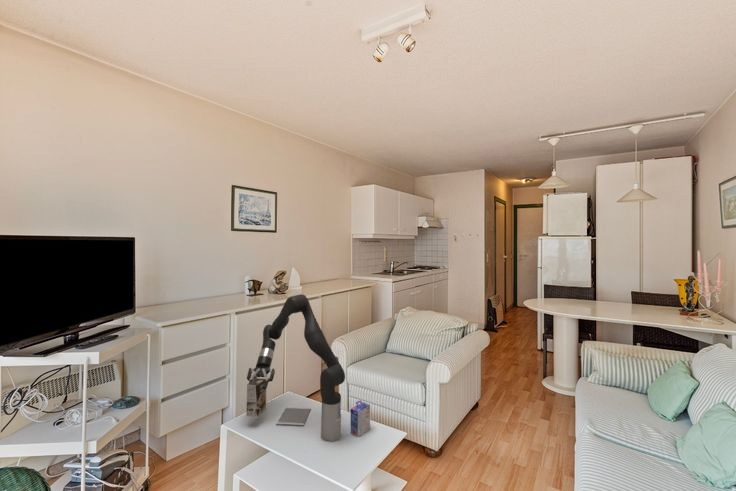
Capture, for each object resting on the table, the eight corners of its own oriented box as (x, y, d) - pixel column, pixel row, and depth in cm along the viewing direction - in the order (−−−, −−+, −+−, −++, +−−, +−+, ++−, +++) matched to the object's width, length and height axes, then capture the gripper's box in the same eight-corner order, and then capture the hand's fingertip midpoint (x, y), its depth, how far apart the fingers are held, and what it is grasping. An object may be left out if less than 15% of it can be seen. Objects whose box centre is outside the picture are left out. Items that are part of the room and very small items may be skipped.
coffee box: (257, 417, 168) (258, 385, 168) (245, 416, 169) (246, 384, 169) (266, 409, 177) (267, 378, 177) (255, 408, 178) (255, 377, 178)
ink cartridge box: (362, 425, 173) (362, 397, 173) (370, 429, 170) (371, 400, 170) (349, 433, 165) (350, 403, 166) (357, 437, 162) (358, 407, 162)
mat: (310, 409, 189) (310, 408, 189) (303, 426, 171) (303, 424, 171) (286, 408, 189) (286, 406, 189) (276, 425, 171) (276, 423, 171)
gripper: (250, 354, 182) (241, 385, 170) (276, 355, 182) (269, 385, 170) (254, 361, 187) (245, 391, 176) (279, 362, 187) (272, 392, 175)
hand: (257, 388), depth 173 cm, fingers closed on coffee box, 7 cm apart
